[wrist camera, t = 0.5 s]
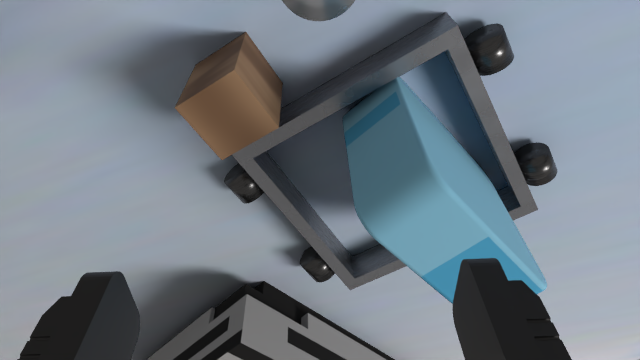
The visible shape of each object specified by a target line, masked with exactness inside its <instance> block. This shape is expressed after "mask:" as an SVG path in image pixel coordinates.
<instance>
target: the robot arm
mask: <svg viewBox="0 0 640 360" xmlns="http://www.w3.org/2000/svg"><path fill="white" fill-rule="evenodd" d="M453 318H454V324H455V328H456V331H457V334H458V338H459V341H460V344H461V347H462V351H463V354H464V357H465V360H572V359H571V357H570V356H569V354H568V352H567V350H566V348H565V346H564V344H563V342H562V340H560V339H559V334H558V332H557V330H556V328H555V326H554V324H553V322H552V323H551V321H550V316H549V314H548V313H547V311H546V309H545V307H544V305H543V303H542V301H541V299H540V297H539V296H538V295H537V294H536V293H535V292H534V291H533V290H531V289H530V288H529V287H528V286H527V285H526V284H525V283H524V282H523V281H522V280H510V281H508V279H507V277H506V275H505V272H504V270H503V268H502V266H501V264H500V262H499V261H498V260H497V259H496V258H481V259H463V260H462V262H461V265H460V270H459V274H458V279H457V284H456V289H455V294H454V299H453ZM139 330H140V316H139V312H138V309H137V307H136V304H135V302H134V299H133V297H132V294H131V292H130V290H129V287H128V285H127V282H126V280H125V277H124V275H123V274H122V273H121V272H93V273H86V274H84V275H83V276H82V277H81V279H80V281H79V282H78V284H77V286H76V288H75V290H74V292H73V294H72V296H67V297H61V298H60V299H59V300H58V301H57V302H56V303H55V304H54V305H52V306H51V307H50V308H49V309H48V310H47V311H46V312H45V313H44V314H43V315H42V317H41V318H40V320H39V322H38V324H37V326H36V327H35V329H34V331H33V333H32V334H31V336H30V341H27V343H26V345H25V347H24V349H23V350H22V352H21V354H20V359H17V360H131V357H132V354H133V351H134V348H135V345H136V342H137V339H138V336H139Z"/></svg>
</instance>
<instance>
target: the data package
mask: <svg viewBox="0 0 640 360" xmlns="http://www.w3.org/2000/svg"><path fill="white" fill-rule="evenodd" d="M343 128H344V136H345V143H346V150H347V157H348V164H349V171H350V178H351V185H352V193H353V200H354V206H355V210H356V212H357V215H358V217H359V219H360V221H361V222H362V224H363V226H364V227H365V228H366V230H367V231H368V232H369V234H370V235H371V236H372V237H373V238H374V239H375V240H376V241H378V242H379V243H380V244H381V245H382V246H384V247H385V248H386V249H387V250H388V251H390V252H391V253H392V254H393V255H394V256H396V257H397V258H398V259H399V260H400V261H402V262H403V263H404V264H405V265H406V266H408V267H409V268H410V269H411V270H412V271H414V272H415V273H416V274H417V275H418V276H420V277H421V278H422V279H423V280H424V281H426V282H427V283H428V284H429V285H430V286H432V287H433V288H434V289H435V290H436V291H438V292H439V293H440V294H441V295H443V296H444V297H445V298H446V299H447V300H449V301H450V302H451V303H452V304H453V299H454V294H455V289H456V284H457V279H458V274H459V270H460V265H461V262H462V260H463V259H481V258H496V259H497V260H498V261H499V262H500V264H501V266H502V268H503V270H504V272H505V275H506V277H507V279H508V281H510V280H522V281H523V282H524V283H525V284H526V285H527V286H528V287H529V288H530V289H531V290H533V291H534V292H535V293H536V294H538V293H540V292H542V291H544V290H545V289H546V287H547V283H546V280H545V278H544V276H543V274H542V272H541V270H540V269H539V267H538V265H537V263H536V261H535V260H534V258H533V256H532V254H531V252H530V251H529V249H528V247H527V245H526V243H525V242H524V240H523V238H522V236H521V234H520V233H519V231H518V229H517V227H516V226H515V224H514V222H513V220H512V218H511V217H510V215H509V213H508V211H507V209H506V208H505V206H504V204H503V202H502V200H501V199H500V197H499V195H498V193H497V191H496V190H495V188H494V186H493V184H492V183H491V181H490V180H489V178H488V177H487V175H486V174H485V172H484V171H483V170H482V169H481V167H480V166H479V165H478V164H477V163H476V161H475V160H474V159H473V158H472V157H471V156H470V155H469V154H468V152H467V151H466V150H465V149H464V148H463V147H462V146H461V145H460V143H459V142H458V141H457V140H456V139H455V138H454V137H453V136H452V135H451V133H450V132H449V131H448V130H447V129H446V128H445V127H444V126H443V124H442V123H441V122H440V121H439V120H438V119H437V118H436V117H435V116H434V114H433V113H432V112H431V111H430V110H429V109H428V108H427V107H426V105H425V104H424V103H423V102H422V101H421V100H420V99H419V98H418V96H417V95H416V94H415V93H414V92H413V91H412V90H411V89H410V88H409V86H408V85H407V84H406V83H405V82H404V81H403V80H402V79H401V78H400V77H397V78H396V79H394V80H392V81H390V82H388V83H387V84H385V85H383V86H381V87H380V88H378V89H376V90H374V91H373V92H372V93H371V94H370V95H368V96H367V97H366V98H365V99H363V100H362V101H361V102H360V103H359V104H357V105H356V106H355V107H354V108H353V109H351V110H350V111H349V112H348V113H347V114H345V115H344V117H343Z"/></svg>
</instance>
